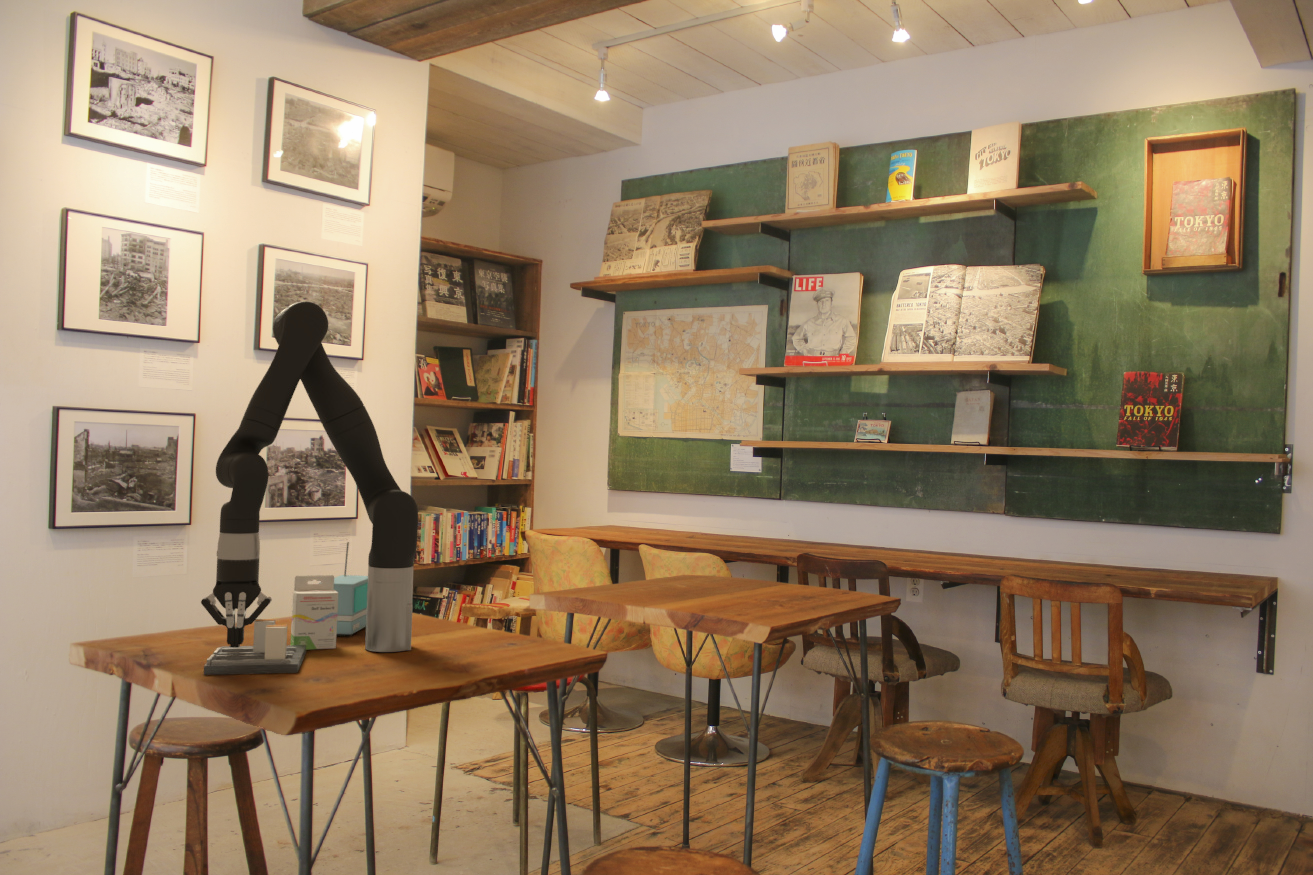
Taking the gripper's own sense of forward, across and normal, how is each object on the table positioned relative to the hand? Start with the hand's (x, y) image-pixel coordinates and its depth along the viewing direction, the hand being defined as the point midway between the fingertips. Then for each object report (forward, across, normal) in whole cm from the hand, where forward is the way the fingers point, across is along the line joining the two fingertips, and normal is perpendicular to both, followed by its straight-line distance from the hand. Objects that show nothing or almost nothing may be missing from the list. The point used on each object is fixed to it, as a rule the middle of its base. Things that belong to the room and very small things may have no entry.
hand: (234, 646), depth 193 cm
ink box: (+3, -13, -14) cm, 20 cm away
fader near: (+1, -8, +7) cm, 11 cm away
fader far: (+1, -5, 0) cm, 5 cm away
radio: (+3, -19, -33) cm, 38 cm away
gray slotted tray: (+3, -4, +2) cm, 6 cm away
